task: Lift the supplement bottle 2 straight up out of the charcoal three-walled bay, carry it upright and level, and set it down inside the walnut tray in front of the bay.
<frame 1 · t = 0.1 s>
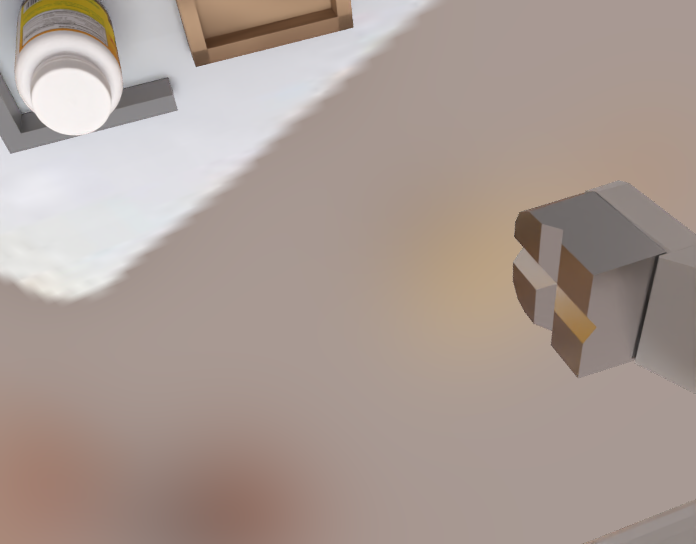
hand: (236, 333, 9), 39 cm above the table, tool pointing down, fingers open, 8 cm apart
supplement bottle 2: (66, 24, 42), on the table
charcoal bay: (66, 25, 42), on the table
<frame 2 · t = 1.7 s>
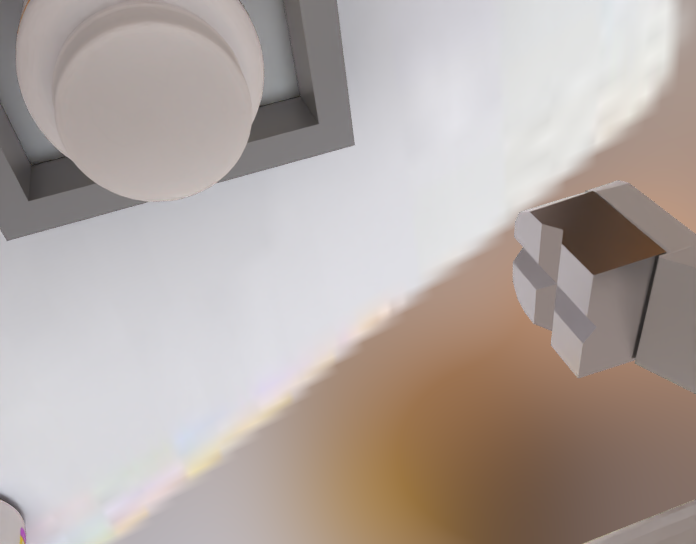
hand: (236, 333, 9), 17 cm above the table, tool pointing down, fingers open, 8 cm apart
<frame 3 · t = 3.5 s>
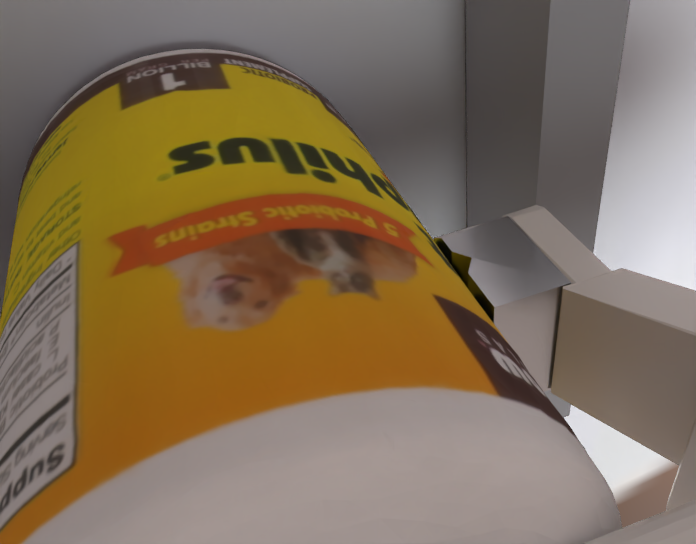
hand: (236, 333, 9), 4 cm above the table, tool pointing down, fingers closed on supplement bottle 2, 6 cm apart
supplement bottle 2: (197, 190, 12), on the table, touching gripper
charcoal bay: (199, 196, 11), on the table
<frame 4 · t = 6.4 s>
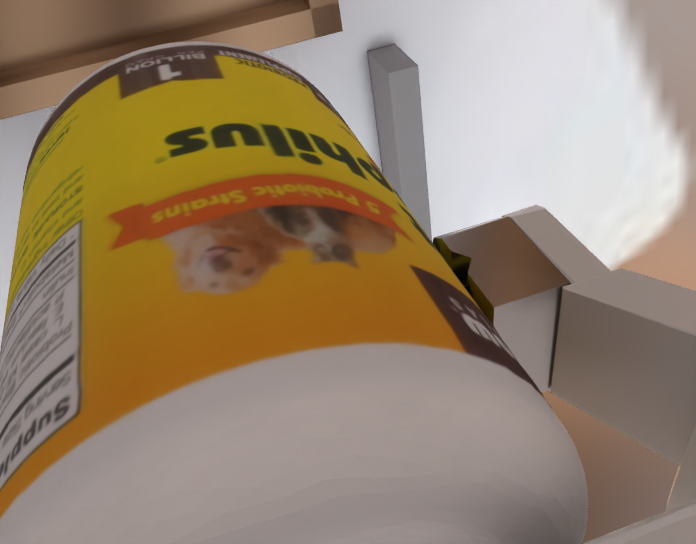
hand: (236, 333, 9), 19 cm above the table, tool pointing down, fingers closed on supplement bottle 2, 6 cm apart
supplement bottle 2: (195, 178, 12), point 14 cm above the table, touching gripper
charcoal bay: (274, 189, 29), on the table
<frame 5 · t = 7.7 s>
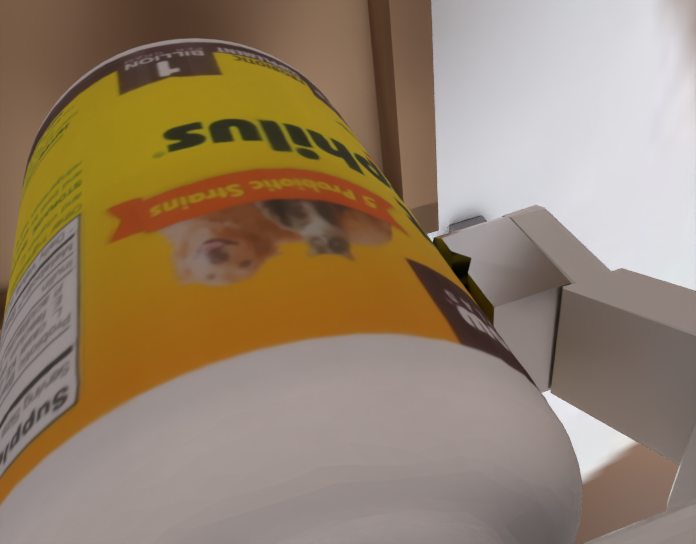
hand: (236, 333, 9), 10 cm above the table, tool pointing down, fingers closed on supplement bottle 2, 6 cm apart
walnut tray: (146, 69, 16), on the table
supplement bottle 2: (194, 175, 12), point 6 cm above the table, touching gripper
when the fingers open (6 cm above the table, at t = 9.0 s): supplement bottle 2 stays where it is, resting on walnut tray.
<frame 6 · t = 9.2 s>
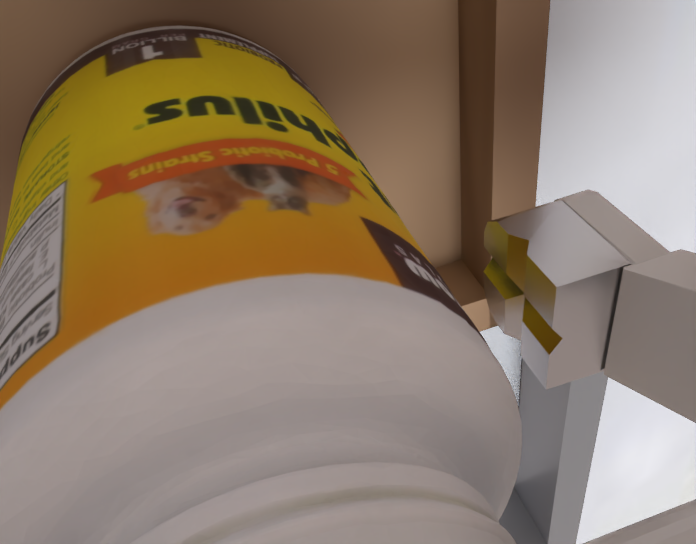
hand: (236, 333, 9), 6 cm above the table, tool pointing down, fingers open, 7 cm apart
walnut tray: (184, 134, 13), on the table
supplement bottle 2: (181, 158, 13), point 1 cm above the table, touching walnut tray
charcoal bay: (380, 453, 22), on the table
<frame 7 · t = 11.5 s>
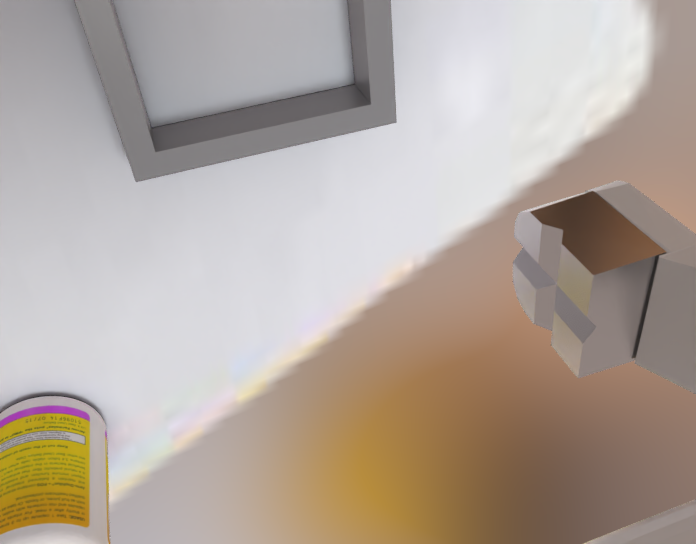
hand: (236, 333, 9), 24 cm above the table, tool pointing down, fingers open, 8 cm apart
supplement bottle: (48, 427, 40), on the table
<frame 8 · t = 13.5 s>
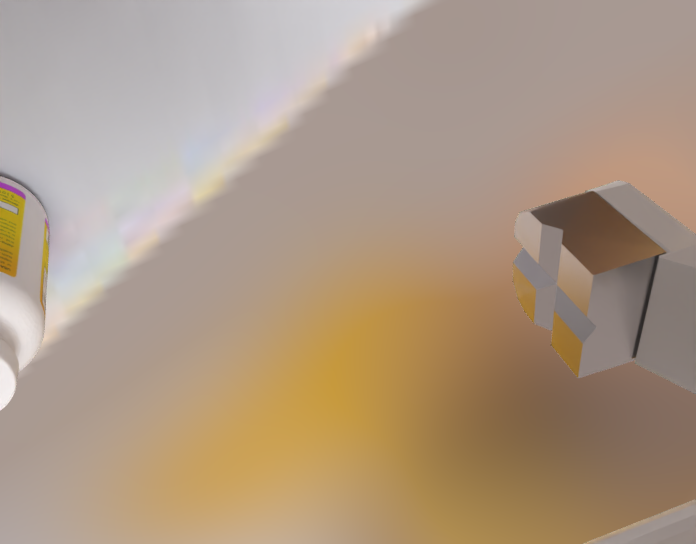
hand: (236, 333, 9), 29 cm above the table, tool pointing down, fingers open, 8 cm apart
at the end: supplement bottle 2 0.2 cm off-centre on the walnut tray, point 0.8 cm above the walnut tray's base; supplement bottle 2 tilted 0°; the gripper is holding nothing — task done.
